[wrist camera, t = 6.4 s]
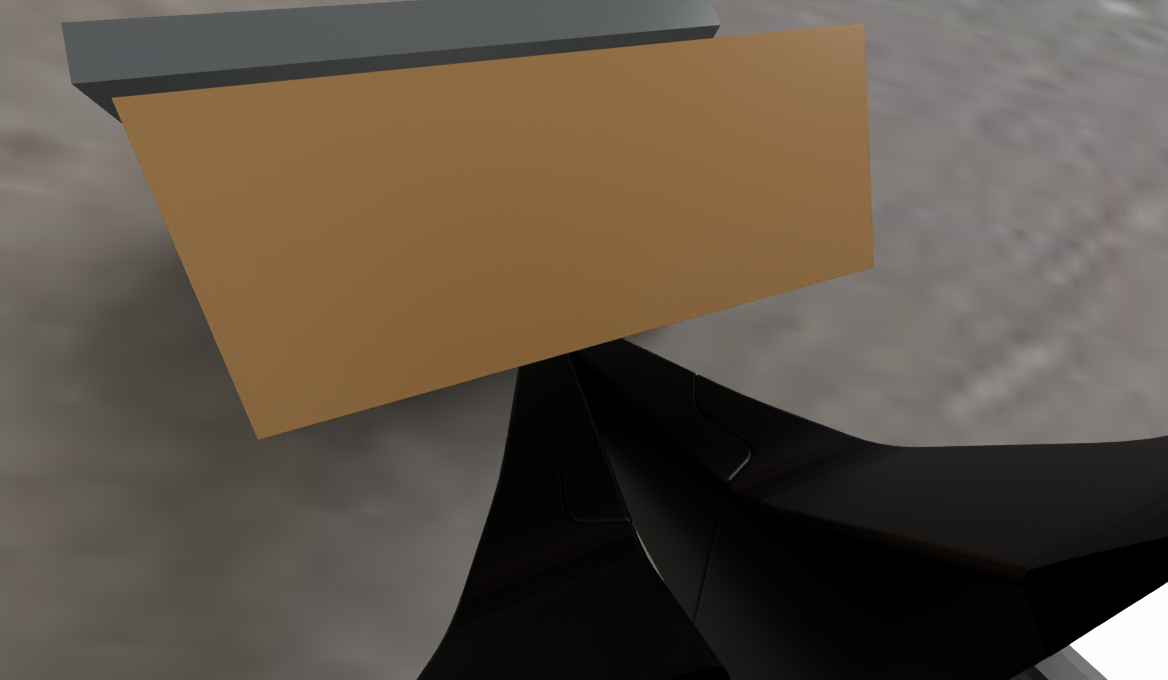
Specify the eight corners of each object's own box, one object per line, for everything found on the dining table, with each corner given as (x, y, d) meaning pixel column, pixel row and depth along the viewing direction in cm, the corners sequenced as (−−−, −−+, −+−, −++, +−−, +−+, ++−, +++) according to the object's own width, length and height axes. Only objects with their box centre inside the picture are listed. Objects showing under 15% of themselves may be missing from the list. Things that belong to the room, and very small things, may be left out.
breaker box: (688, 292, 19) (795, 221, 12) (291, 396, 15) (122, 378, 8) (633, 132, 20) (704, -18, 13) (246, 191, 16) (61, 22, 9)
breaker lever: (601, 264, 14) (874, 266, 5) (400, 310, 13) (258, 440, 3) (586, 185, 14) (864, 22, 4) (372, 223, 12) (112, 97, 3)
